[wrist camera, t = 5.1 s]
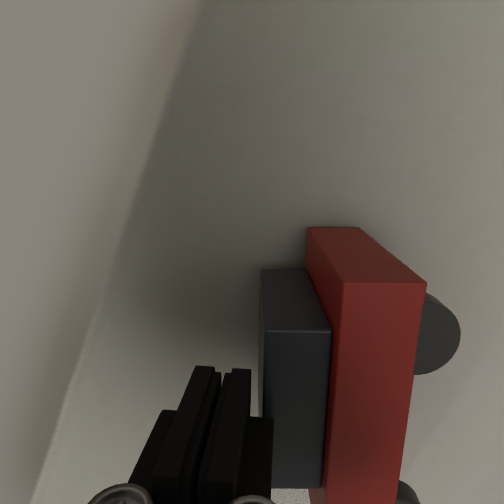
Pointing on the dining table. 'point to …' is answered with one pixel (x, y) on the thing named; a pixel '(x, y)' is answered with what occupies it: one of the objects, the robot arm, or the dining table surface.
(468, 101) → the dining table surface
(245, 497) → the robot arm
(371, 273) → the toy car
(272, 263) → the dining table surface
